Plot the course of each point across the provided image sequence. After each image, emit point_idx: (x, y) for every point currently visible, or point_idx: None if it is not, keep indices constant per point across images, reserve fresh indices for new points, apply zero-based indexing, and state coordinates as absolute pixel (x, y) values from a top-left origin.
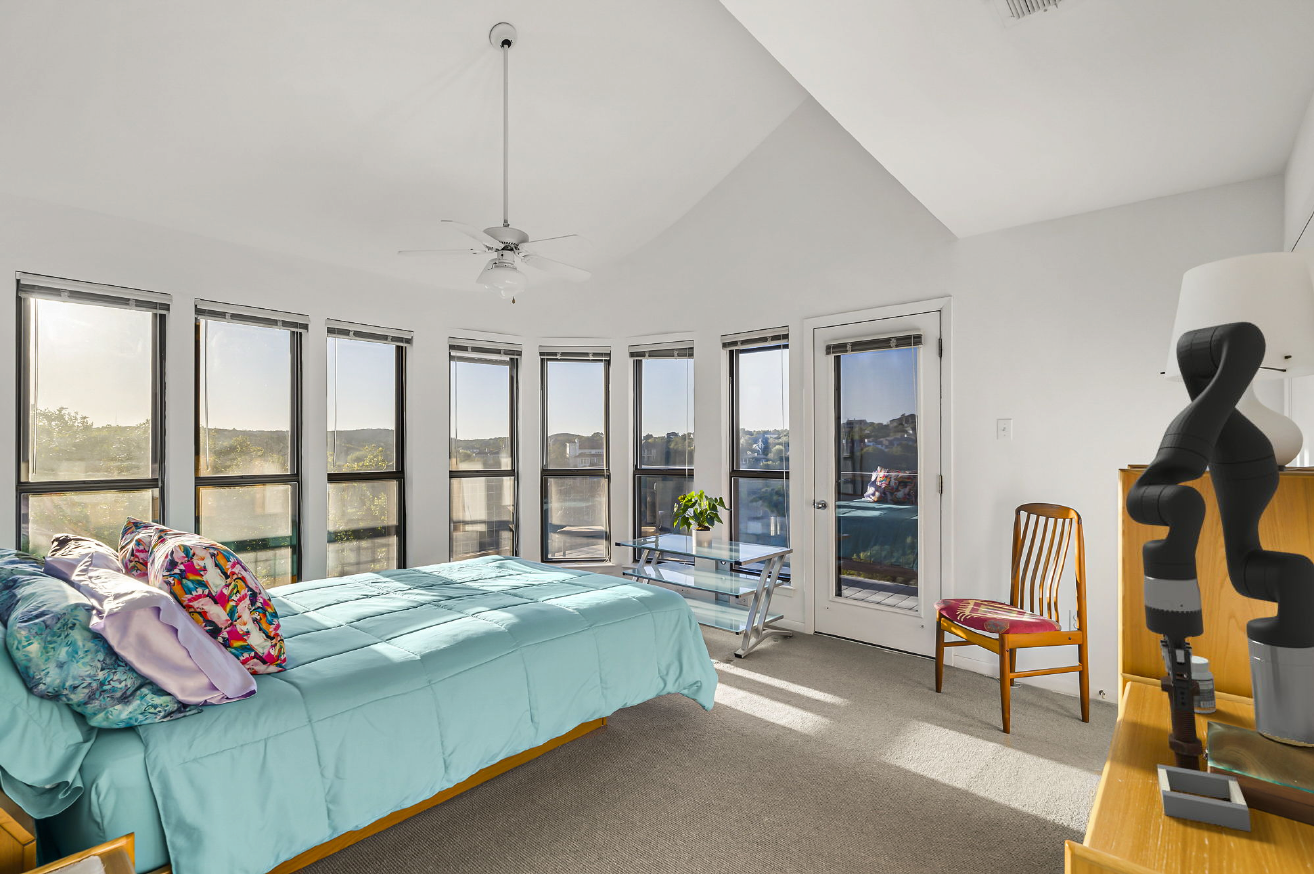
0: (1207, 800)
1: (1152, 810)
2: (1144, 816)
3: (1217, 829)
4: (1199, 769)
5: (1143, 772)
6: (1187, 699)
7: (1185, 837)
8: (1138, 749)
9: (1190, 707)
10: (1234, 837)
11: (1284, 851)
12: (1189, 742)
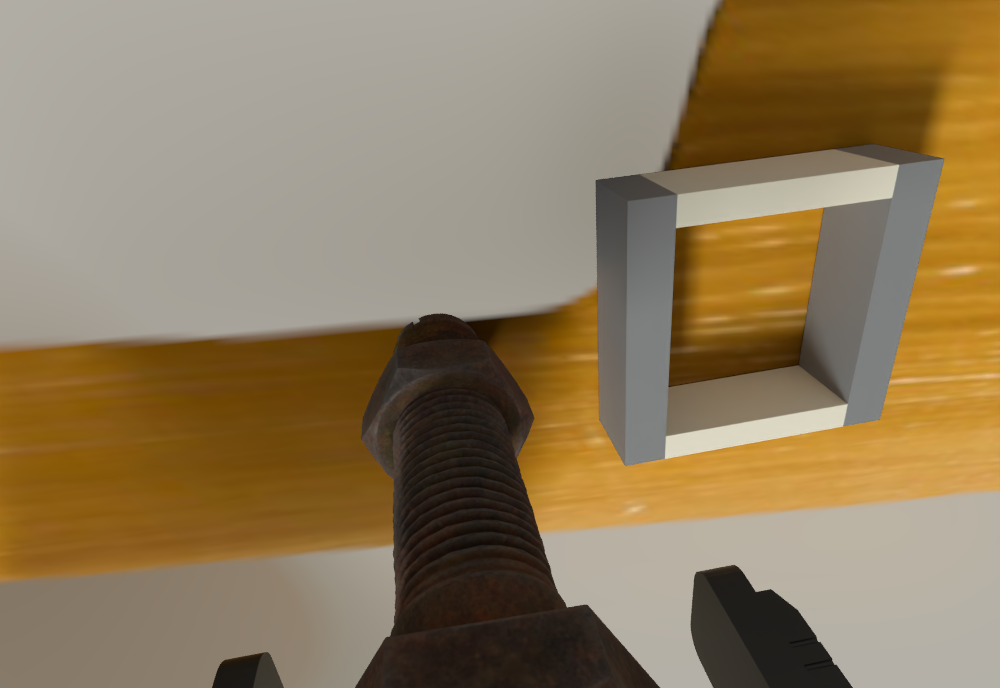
0: (889, 295)
1: None
2: None
3: None
4: (446, 318)
5: (536, 466)
6: (837, 669)
7: (950, 320)
8: (325, 508)
9: (746, 588)
10: None
11: (984, 43)
12: (501, 414)
